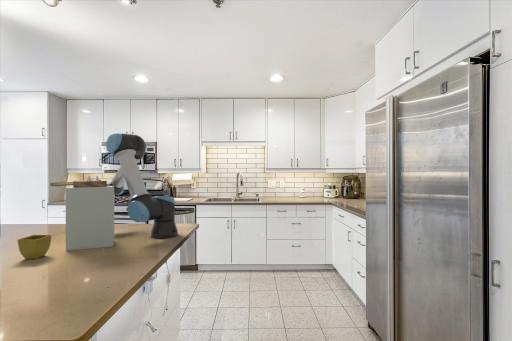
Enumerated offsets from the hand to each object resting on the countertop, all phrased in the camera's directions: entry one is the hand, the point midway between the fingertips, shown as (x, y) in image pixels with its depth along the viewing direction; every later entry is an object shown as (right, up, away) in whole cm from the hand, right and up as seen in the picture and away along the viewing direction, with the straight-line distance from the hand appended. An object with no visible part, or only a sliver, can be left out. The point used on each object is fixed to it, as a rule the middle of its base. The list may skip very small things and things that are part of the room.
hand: (93, 178), depth 148 cm
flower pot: (-12, -35, -24) cm, 43 cm away
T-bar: (0, -4, +1) cm, 4 cm away
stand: (+2, -34, -5) cm, 35 cm away
